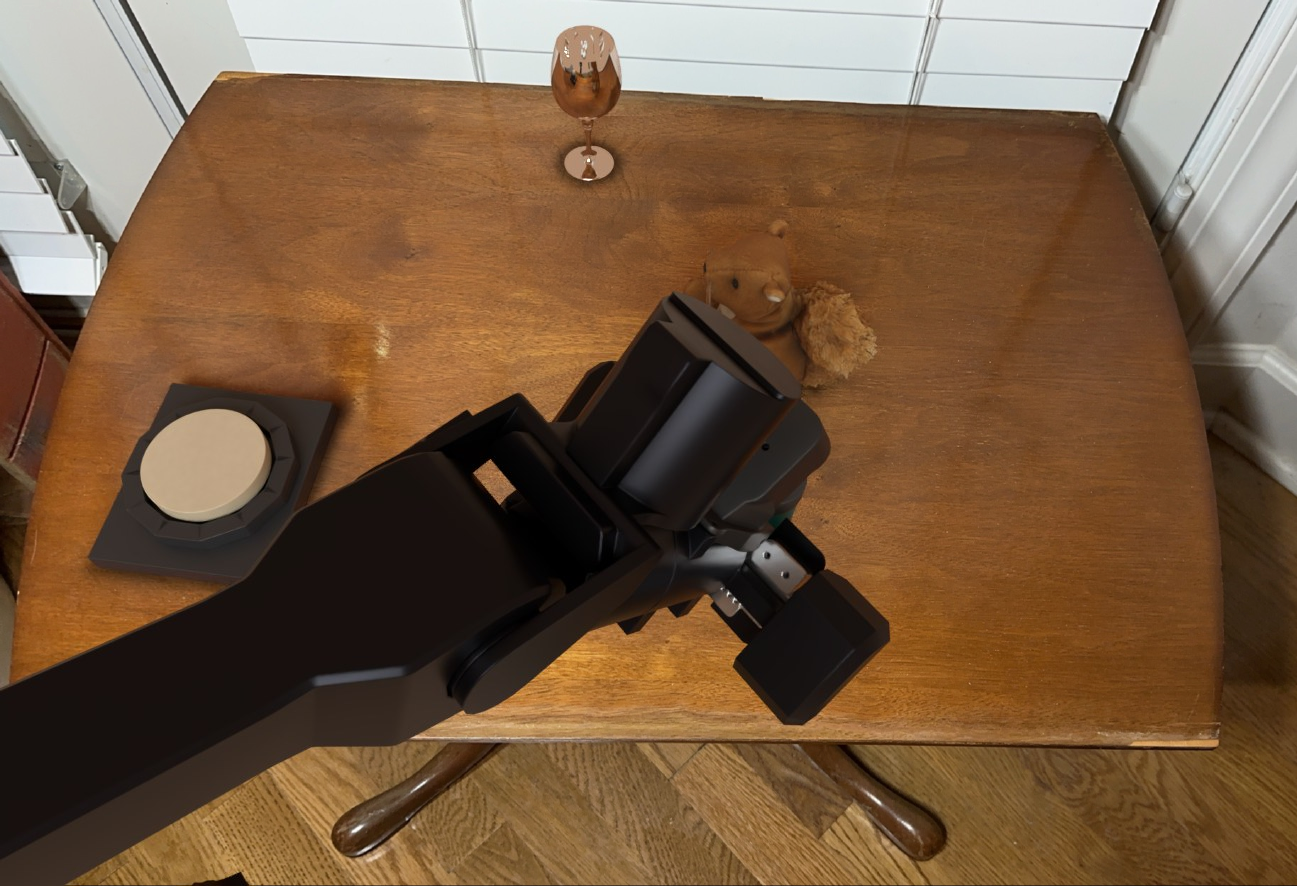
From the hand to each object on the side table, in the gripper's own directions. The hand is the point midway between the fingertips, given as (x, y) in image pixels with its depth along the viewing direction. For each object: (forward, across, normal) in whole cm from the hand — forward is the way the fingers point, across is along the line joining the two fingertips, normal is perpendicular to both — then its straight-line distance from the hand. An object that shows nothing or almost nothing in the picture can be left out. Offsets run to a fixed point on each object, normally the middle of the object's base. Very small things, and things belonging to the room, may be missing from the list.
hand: (773, 517), depth 50 cm
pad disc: (-9, +29, +23) cm, 38 cm away
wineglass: (+21, +39, -3) cm, 45 cm away
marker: (+4, 0, +6) cm, 7 cm away
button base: (-7, +29, +25) cm, 39 cm away
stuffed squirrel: (+19, +13, -1) cm, 23 cm away
